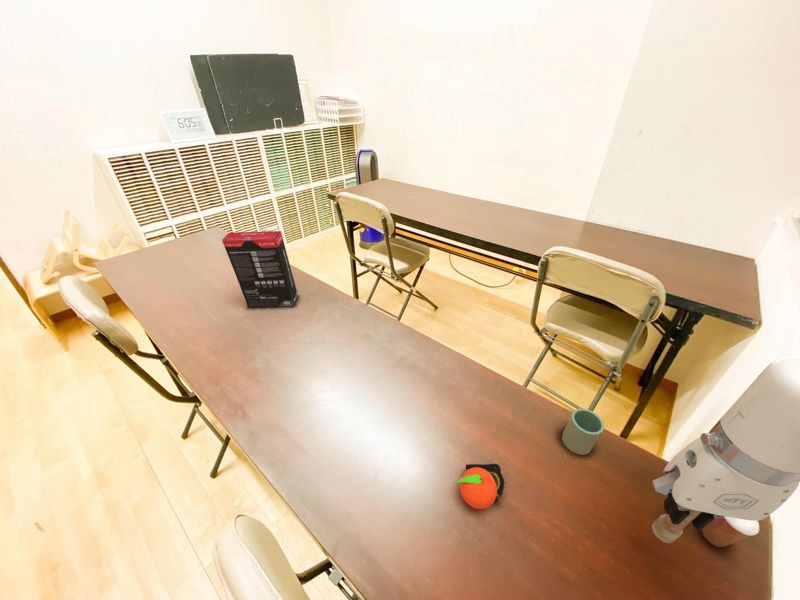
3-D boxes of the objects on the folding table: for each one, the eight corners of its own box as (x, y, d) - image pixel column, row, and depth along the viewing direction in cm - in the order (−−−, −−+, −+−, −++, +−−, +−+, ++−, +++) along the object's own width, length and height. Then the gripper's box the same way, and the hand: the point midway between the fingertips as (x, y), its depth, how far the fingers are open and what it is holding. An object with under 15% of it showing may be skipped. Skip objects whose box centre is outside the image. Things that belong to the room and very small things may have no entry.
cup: (597, 446, 70) (610, 426, 66) (578, 459, 68) (590, 439, 64) (574, 424, 75) (584, 404, 70) (555, 436, 73) (565, 415, 68)
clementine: (454, 514, 61) (457, 498, 57) (451, 476, 66) (454, 459, 62) (497, 516, 60) (503, 500, 56) (490, 477, 66) (496, 460, 62)
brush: (678, 536, 51) (717, 503, 44) (667, 547, 50) (706, 515, 43) (658, 518, 54) (693, 483, 47) (647, 528, 53) (681, 494, 46)
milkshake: (704, 513, 60) (735, 488, 54) (736, 546, 56) (774, 523, 50) (686, 522, 59) (716, 498, 53) (717, 556, 55) (754, 535, 49)
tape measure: (497, 469, 67) (500, 460, 65) (505, 506, 62) (508, 497, 60) (465, 469, 68) (466, 460, 65) (469, 505, 62) (471, 497, 60)
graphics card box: (300, 296, 120) (281, 228, 104) (295, 307, 114) (275, 237, 98) (254, 298, 120) (228, 230, 104) (247, 310, 114) (219, 240, 98)
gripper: (690, 467, 36) (630, 531, 47) (870, 497, 33) (762, 559, 44) (662, 411, 42) (614, 479, 53) (812, 431, 39) (729, 500, 50)
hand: (681, 515), depth 48 cm, fingers closed on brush, 2 cm apart
